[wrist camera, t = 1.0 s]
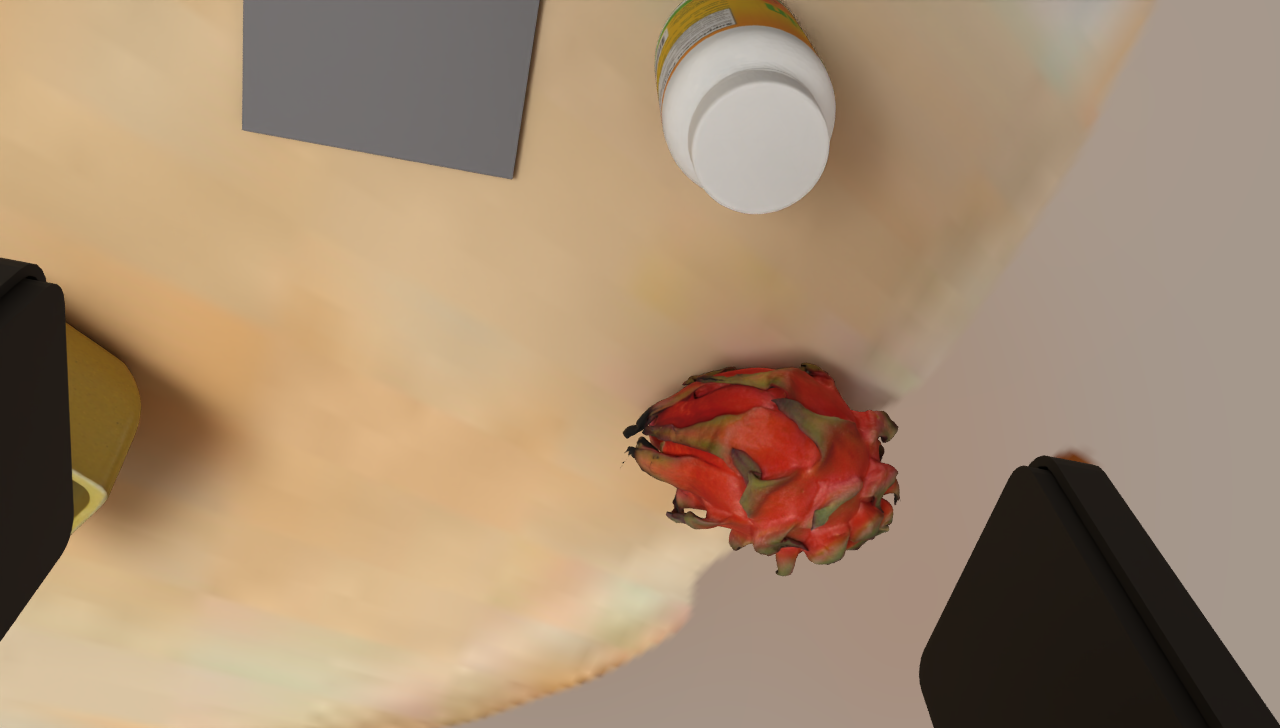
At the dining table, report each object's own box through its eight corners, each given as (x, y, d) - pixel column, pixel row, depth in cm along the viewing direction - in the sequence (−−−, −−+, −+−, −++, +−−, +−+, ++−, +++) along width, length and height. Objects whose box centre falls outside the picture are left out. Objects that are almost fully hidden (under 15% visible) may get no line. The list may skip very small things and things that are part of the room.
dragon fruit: (881, 439, 49) (639, 359, 49) (963, 372, 41) (676, 276, 41) (848, 614, 46) (587, 531, 45) (930, 578, 38) (616, 476, 37)
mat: (248, -169, 34) (245, -168, 33) (555, -102, 35) (554, -100, 35) (245, 126, 39) (242, 129, 38) (512, 175, 40) (512, 179, 40)
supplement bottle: (829, 72, 38) (890, 169, 30) (708, 156, 40) (734, 270, 32) (749, -53, 36) (792, 15, 28) (624, 41, 38) (629, 132, 29)
